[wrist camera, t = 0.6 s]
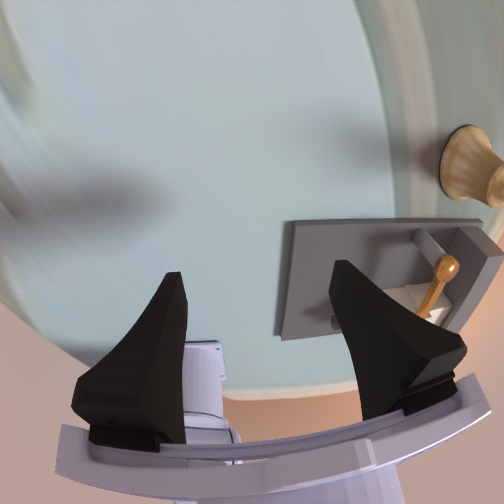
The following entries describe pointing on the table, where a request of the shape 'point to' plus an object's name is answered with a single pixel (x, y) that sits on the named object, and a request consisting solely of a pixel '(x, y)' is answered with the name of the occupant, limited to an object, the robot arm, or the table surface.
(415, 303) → the plug
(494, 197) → the hand bell
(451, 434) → the robot arm
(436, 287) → the ball-topped lever
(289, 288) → the grey base plate
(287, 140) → the table surface
